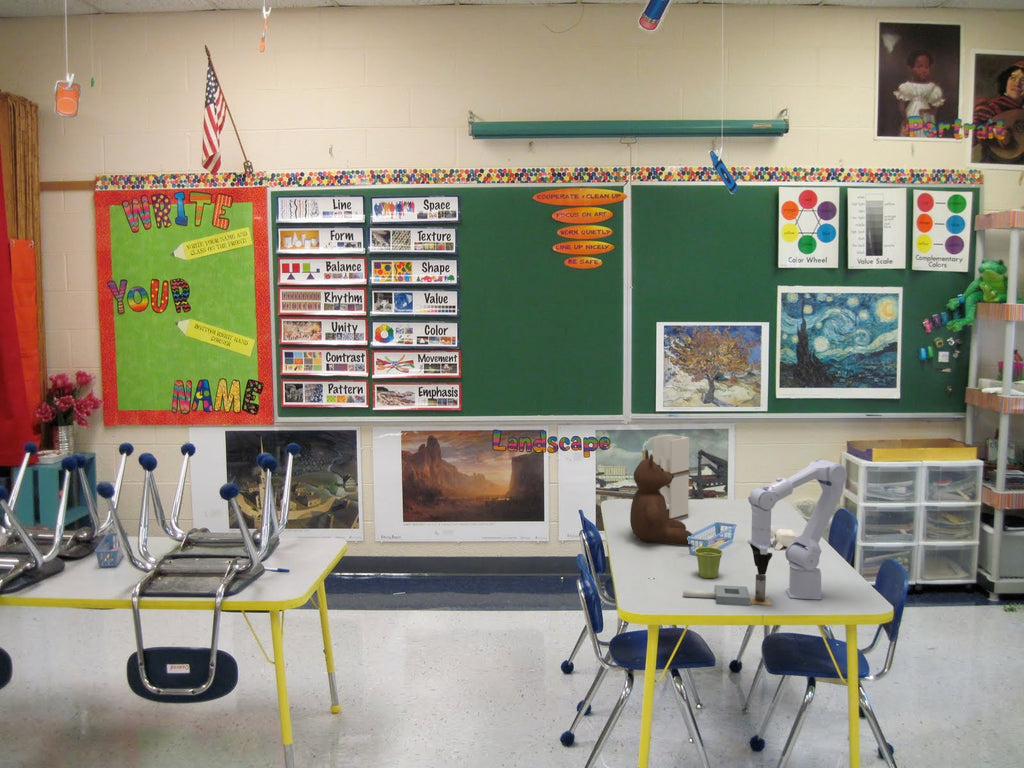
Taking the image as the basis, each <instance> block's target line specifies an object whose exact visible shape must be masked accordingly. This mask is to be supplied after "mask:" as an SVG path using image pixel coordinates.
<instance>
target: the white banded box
mask: <svg viewBox="0 0 1024 768" xmlns="http://www.w3.org/2000/svg"><path fill="white" fill-rule="evenodd" d="M651 437H652V439H651V454H652V455H653V461H654V462H655V463H656V464H657V465H660V466H661V468H663V469H664V472H666V473H669V474H671V475H673V476H674V478H673V479H672V482H671V483H670V484H668V485H665V486H664V487H662V488H660V489H659V492H660V493H661V494H662V495H663V496H664V498H665V502H666V505H669V508H667V512H668V520H677V521H680V522H681V521H684V520H686V519H689V489H690V487H689V486H690V483H689V480H690V479H689V477H690V437H688V436H683V435H677V434H676V435H675V434H671V433H670V434H664V435H659V436H658V435H656V436H654V437H653V436H651Z"/></svg>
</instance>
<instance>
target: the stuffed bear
mask: <svg viewBox="0 0 1024 768" xmlns="http://www.w3.org/2000/svg"><path fill="white" fill-rule="evenodd" d="M673 478H674V476H673V475H671V474H669V473H666V472H664V469H663V468H661V466H660V465H657V464H656V463H655V462H654V461H653V455H652V453H651V454H649V450H648V449H645V451H644V459H643V460H641V461H640V462H639V463H638V465H637V467H636V468H635V470H634V471H633V481H634V482H635V484H636V485H637V488H638V489H637V490H636V491H635V493H634V495H633V497H632V502H631V506H630V515H629V518H630V519H629V521H630V527H631V531H632V533H633V535H634V536H635V538H636V539H638V540H639V541H640V542H645V543H652V544H654V543H655V544H668V545H669V544H671V545H676V546H677V545H678V546H679V545H680V546H689V545H688V540H687V537H688V536H691V535H693V533H692V532H690V531H689V530H687V527H686V525H685V523H684V522H682V521H681V520H680V521H677V520H668V512H667V509H668V508H667V503H666V502H665V498H664V496H663V495H662V494H661V493H660V488H662V487H664V486H665V485H668V484H670V483H671V482H672V479H673ZM693 536H694V535H693Z"/></svg>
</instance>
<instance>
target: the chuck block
mask: <svg viewBox="0 0 1024 768" xmlns="http://www.w3.org/2000/svg"><path fill="white" fill-rule="evenodd" d="M682 595H683V596H682V597H686V598H687V597H688V598H703V599H704V598H705V599H715V601H716V605H732V606H733V605H734V606H749V607H750V606H751V602H750V594H749V589H748V586H741V585H725V584H724V585H722V584H719V585H718V584H714V591H710V590H707V591H706V590H692V589H691V590H688V589H685V590H684V589H683V590H682Z"/></svg>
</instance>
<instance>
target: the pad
mask: <svg viewBox="0 0 1024 768" xmlns="http://www.w3.org/2000/svg"><path fill="white" fill-rule="evenodd" d="M749 596H750V595H749ZM752 605H753V606H770V607H771V606H772V602H771V600H770V597H769V596H768V597H767V596H765V602H757V601H755V596H750V606H752Z"/></svg>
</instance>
